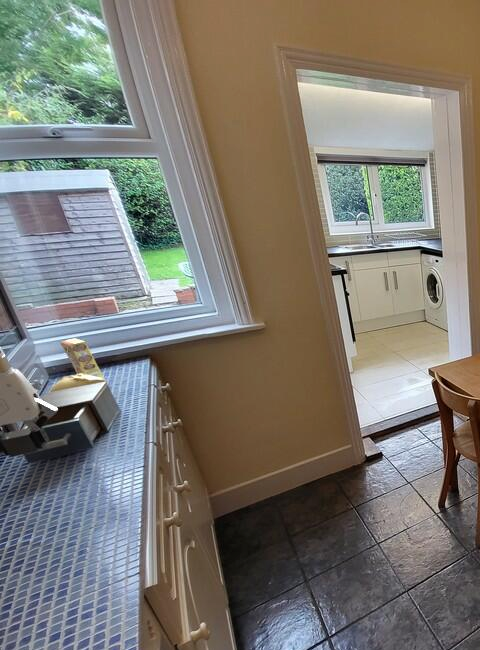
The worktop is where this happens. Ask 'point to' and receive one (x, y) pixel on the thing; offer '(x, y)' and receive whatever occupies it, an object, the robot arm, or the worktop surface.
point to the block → (19, 442)
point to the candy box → (81, 357)
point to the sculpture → (76, 381)
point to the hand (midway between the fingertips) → (27, 448)
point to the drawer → (67, 432)
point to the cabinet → (87, 402)
